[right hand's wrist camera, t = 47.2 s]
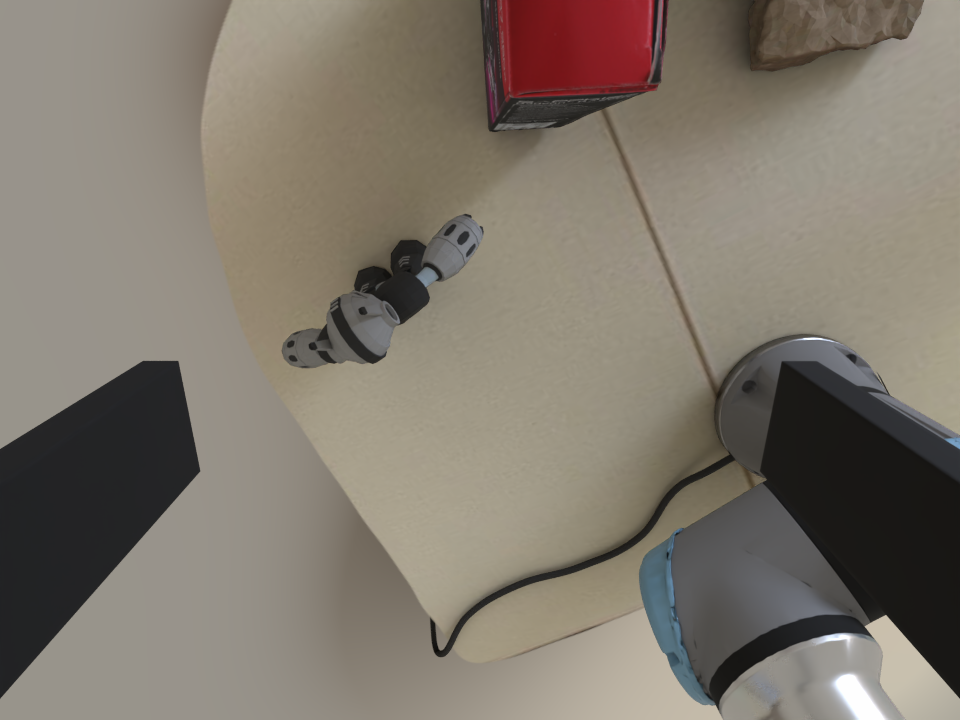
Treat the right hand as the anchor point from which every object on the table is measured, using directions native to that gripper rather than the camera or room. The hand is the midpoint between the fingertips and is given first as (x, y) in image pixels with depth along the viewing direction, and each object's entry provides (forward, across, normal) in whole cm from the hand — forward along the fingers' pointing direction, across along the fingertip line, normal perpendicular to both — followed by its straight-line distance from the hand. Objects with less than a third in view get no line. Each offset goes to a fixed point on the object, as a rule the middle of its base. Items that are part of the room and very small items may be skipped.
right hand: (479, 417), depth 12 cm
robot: (+41, +8, +5) cm, 42 cm away
